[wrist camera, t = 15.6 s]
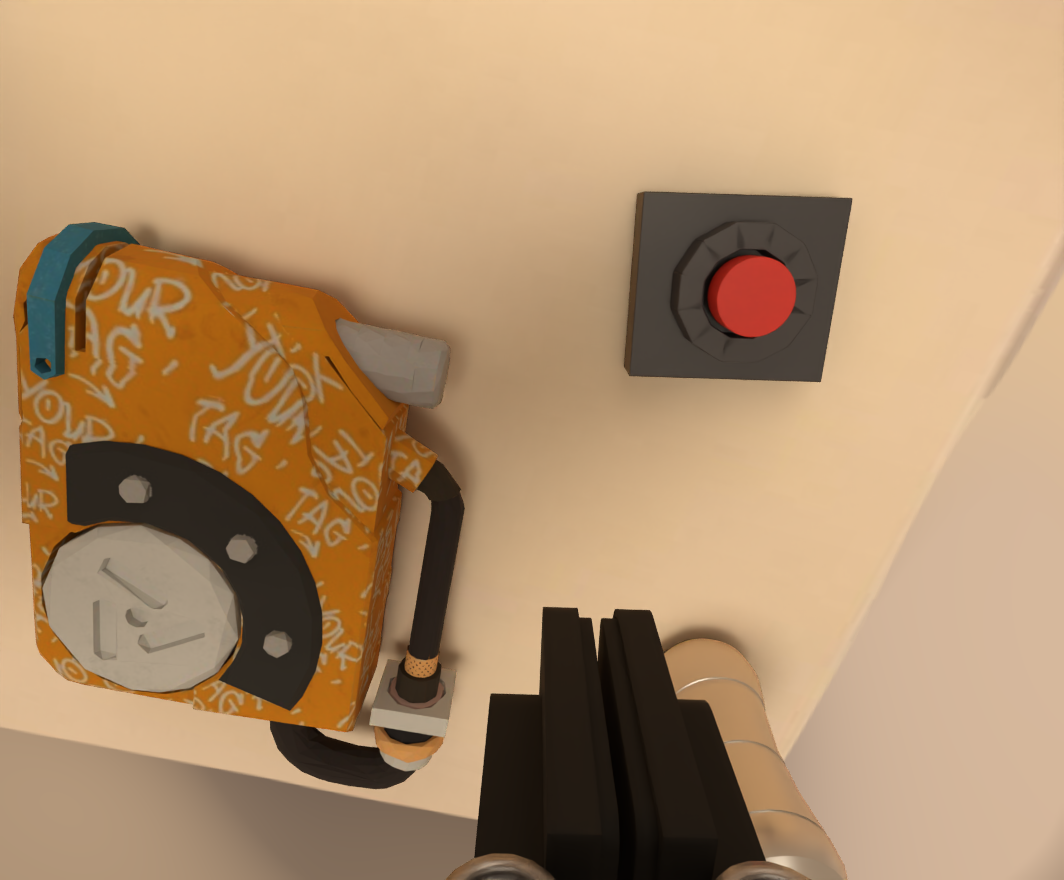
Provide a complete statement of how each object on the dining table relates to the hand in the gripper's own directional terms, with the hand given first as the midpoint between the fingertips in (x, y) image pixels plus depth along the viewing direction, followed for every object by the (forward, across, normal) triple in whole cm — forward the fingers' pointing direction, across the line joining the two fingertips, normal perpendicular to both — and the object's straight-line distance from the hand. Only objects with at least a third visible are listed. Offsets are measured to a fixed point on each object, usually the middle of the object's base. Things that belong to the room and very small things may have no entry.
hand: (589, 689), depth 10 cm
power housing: (+27, -9, -4) cm, 29 cm away
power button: (+24, -9, -4) cm, 25 cm away
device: (+27, +15, +10) cm, 33 cm away
